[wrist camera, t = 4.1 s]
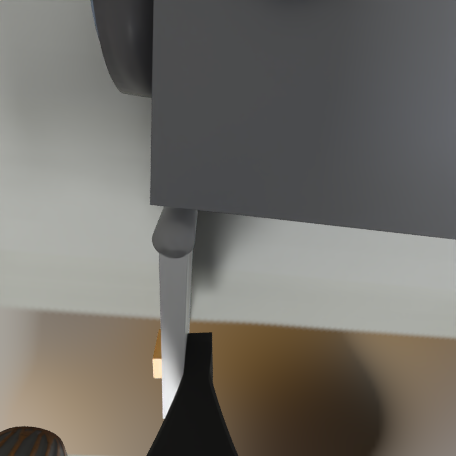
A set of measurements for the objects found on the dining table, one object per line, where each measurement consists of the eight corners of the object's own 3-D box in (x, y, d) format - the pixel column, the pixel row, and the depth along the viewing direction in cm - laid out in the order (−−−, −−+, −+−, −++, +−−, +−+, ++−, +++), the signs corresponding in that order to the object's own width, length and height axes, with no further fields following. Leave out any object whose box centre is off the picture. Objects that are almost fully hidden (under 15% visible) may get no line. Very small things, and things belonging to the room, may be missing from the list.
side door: (191, 334, 13) (185, 418, 10) (163, 333, 13) (147, 419, 10) (200, 176, 9) (195, 223, 6) (161, 173, 9) (132, 219, 6)
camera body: (518, 5, 8) (914, -106, 3) (421, 190, 11) (574, 261, 6) (139, -92, 6) (-15, -493, 2) (139, 151, 9) (74, 207, 5)
